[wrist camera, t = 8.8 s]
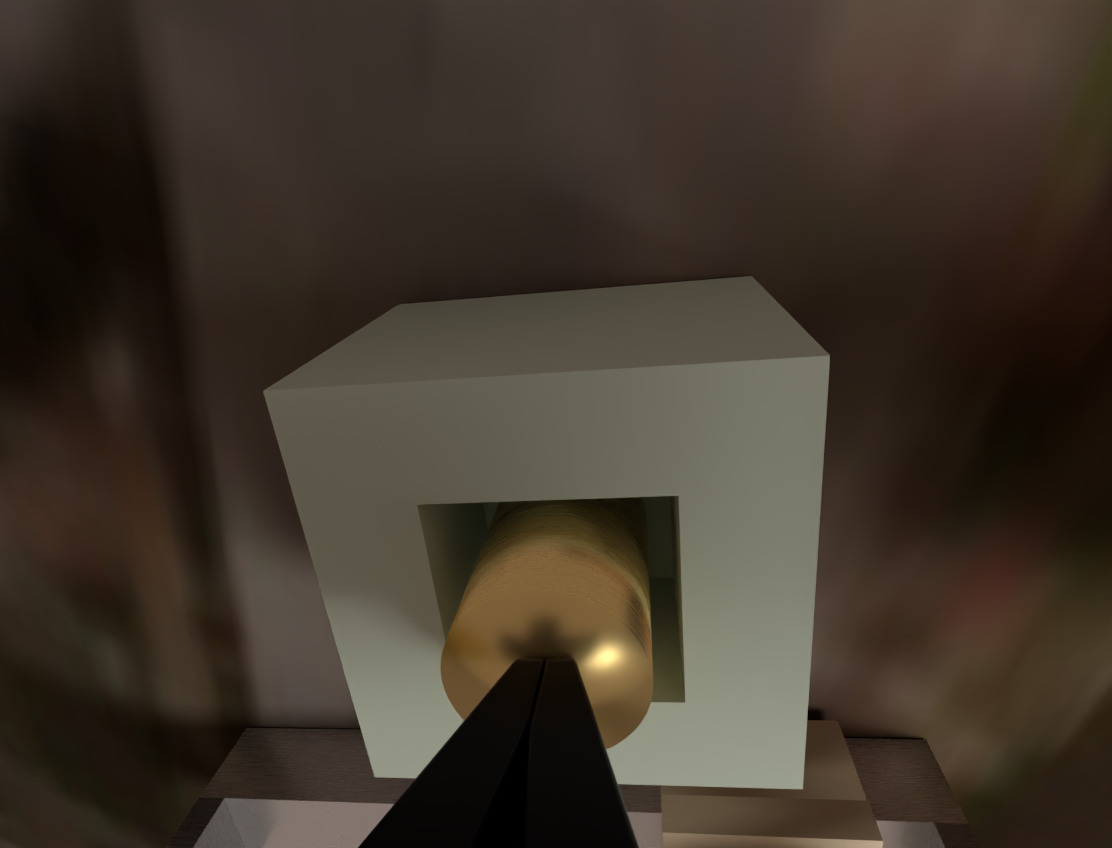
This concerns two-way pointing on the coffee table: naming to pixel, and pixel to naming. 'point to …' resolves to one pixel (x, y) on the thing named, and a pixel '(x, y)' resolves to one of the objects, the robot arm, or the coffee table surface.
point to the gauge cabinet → (575, 473)
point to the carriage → (779, 806)
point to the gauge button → (560, 605)
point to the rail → (363, 800)
